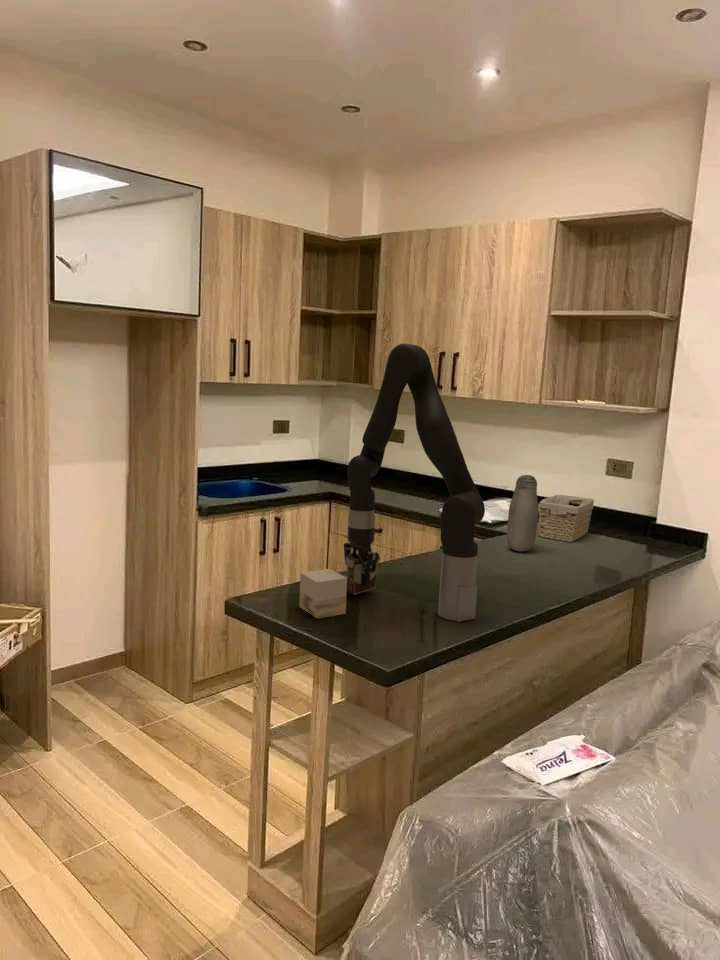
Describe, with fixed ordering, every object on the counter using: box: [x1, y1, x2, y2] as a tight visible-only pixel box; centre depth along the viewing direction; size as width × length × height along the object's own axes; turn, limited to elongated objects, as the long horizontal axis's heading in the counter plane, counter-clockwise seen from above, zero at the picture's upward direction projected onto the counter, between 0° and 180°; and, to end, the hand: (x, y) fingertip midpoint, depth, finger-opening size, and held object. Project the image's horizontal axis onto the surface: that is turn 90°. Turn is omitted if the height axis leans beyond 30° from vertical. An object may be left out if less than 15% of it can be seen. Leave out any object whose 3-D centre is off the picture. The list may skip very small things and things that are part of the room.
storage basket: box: [537, 494, 595, 543], centre depth 295 cm, size 24×16×15 cm
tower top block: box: [299, 568, 348, 601], centre depth 194 cm, size 9×9×5 cm
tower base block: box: [298, 590, 347, 619], centre depth 195 cm, size 9×9×5 cm
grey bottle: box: [506, 474, 539, 553], centre depth 266 cm, size 10×10×28 cm
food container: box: [344, 553, 381, 596], centre depth 209 cm, size 12×6×10 cm, turn 140°
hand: (359, 582), depth 209 cm, fingers closed on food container, 5 cm apart
